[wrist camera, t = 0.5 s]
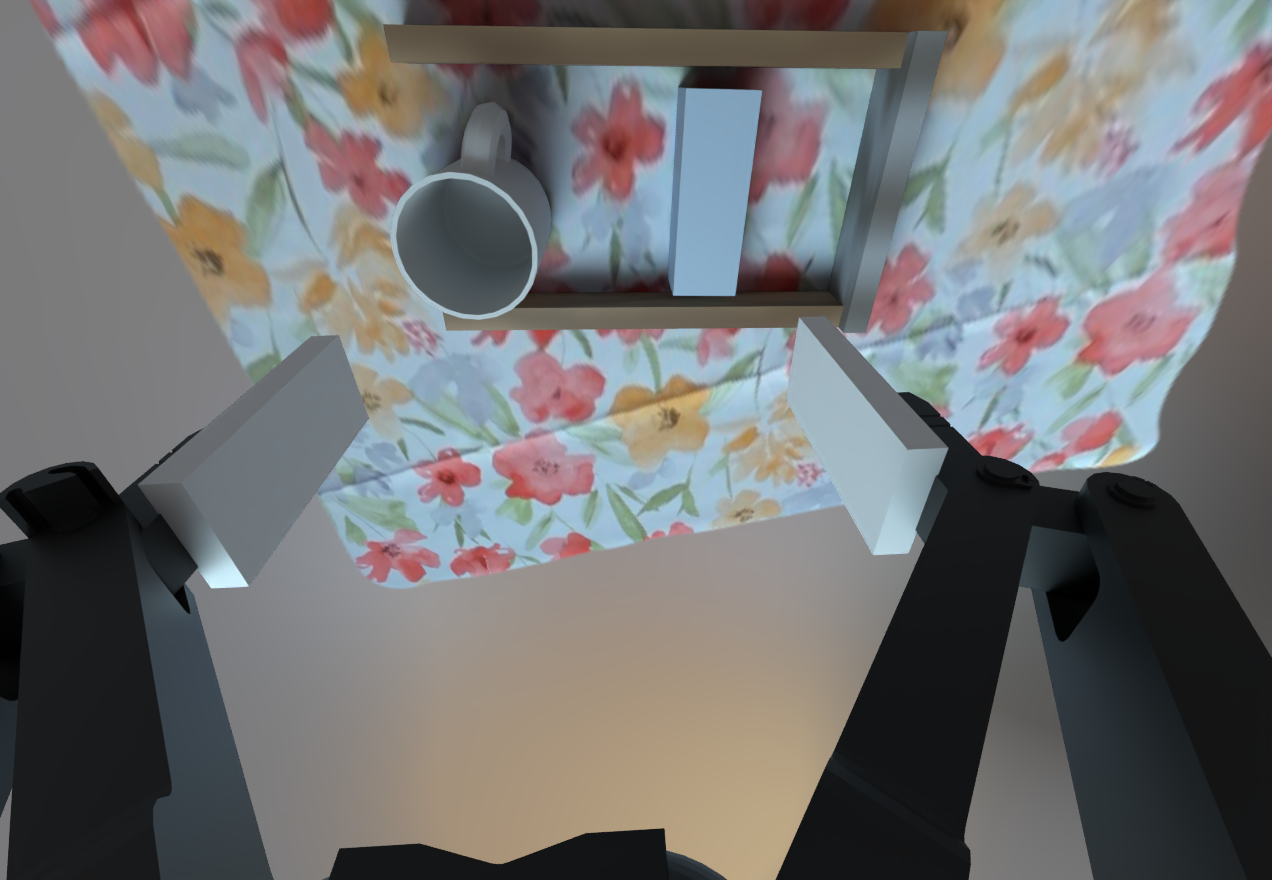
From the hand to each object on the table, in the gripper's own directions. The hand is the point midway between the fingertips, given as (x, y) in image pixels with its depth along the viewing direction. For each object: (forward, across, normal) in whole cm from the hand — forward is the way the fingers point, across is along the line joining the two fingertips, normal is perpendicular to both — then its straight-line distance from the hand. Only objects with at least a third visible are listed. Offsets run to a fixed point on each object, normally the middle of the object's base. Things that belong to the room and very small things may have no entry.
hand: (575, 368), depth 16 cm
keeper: (+23, +7, +1) cm, 24 cm away
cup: (+23, -6, +2) cm, 24 cm away
